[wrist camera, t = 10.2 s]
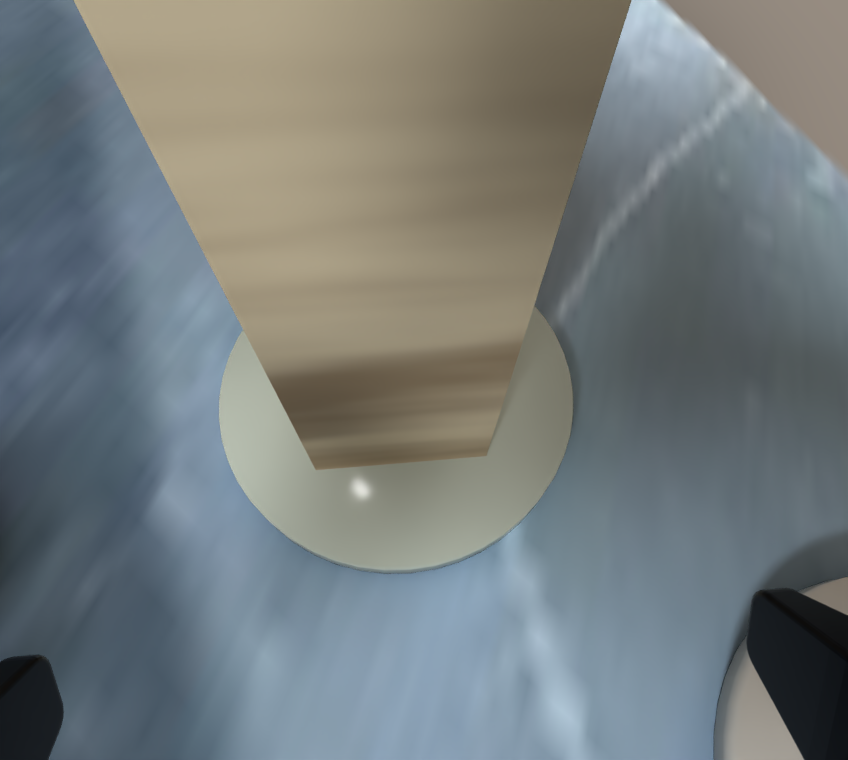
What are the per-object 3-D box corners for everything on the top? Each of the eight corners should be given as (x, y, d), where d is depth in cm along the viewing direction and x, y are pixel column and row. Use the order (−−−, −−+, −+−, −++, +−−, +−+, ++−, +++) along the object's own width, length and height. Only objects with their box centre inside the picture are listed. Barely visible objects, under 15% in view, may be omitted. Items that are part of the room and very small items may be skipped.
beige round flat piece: (625, 500, 17) (639, 488, 16) (272, 632, 15) (261, 629, 14) (486, 238, 22) (490, 215, 21) (204, 316, 20) (192, 296, 19)
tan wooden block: (486, 455, 17) (645, -41, 5) (315, 470, 16) (64, -18, 5) (465, 314, 19) (539, -250, 7) (315, 325, 19) (145, -243, 7)
